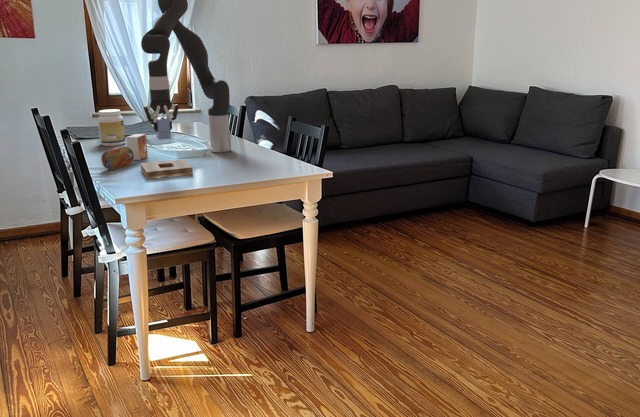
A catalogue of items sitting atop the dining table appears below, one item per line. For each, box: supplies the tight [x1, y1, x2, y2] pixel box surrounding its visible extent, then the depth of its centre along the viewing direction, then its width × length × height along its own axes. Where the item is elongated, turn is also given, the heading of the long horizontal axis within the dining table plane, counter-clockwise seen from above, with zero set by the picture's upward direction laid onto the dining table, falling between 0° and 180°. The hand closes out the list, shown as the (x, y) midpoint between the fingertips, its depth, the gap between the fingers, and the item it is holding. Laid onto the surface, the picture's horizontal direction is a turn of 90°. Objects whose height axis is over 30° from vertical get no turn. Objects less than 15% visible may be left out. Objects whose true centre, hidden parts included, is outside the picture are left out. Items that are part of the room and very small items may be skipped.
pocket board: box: [140, 158, 194, 180], centre depth 240 cm, size 18×16×3 cm
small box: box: [125, 133, 148, 161], centre depth 264 cm, size 8×6×10 cm
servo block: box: [155, 115, 172, 141], centre depth 235 cm, size 4×9×9 cm, turn 24°
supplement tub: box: [97, 108, 127, 147], centre depth 294 cm, size 12×12×17 cm
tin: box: [101, 146, 134, 171], centre depth 249 cm, size 15×3×8 cm, turn 148°
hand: (163, 130), depth 235 cm, fingers closed on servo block, 4 cm apart
